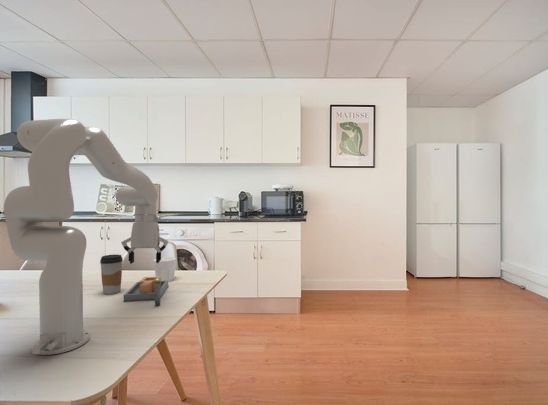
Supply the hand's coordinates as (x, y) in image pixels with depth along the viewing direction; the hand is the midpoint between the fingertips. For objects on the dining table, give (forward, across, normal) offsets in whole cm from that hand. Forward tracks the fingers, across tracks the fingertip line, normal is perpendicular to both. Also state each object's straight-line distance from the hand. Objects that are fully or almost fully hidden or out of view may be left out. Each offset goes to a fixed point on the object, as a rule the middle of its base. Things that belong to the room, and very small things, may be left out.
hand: (145, 262), depth 119 cm
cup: (+13, -3, -25) cm, 28 cm away
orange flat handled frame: (+13, 0, -5) cm, 14 cm away
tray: (+13, 0, -5) cm, 14 cm away
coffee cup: (+14, +15, -9) cm, 22 cm away
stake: (+14, -7, +10) cm, 18 cm away
